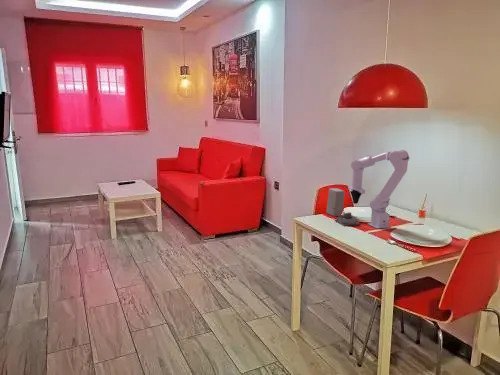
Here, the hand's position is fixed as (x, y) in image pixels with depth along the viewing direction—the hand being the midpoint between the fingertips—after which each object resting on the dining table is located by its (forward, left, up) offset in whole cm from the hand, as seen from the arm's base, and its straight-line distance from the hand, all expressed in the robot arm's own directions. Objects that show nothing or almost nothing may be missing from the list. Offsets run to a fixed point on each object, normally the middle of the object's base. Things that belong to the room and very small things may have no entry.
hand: (355, 203), depth 225 cm
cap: (-5, +8, -9) cm, 13 cm away
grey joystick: (-5, +8, -10) cm, 14 cm away
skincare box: (+14, +5, -10) cm, 18 cm away
